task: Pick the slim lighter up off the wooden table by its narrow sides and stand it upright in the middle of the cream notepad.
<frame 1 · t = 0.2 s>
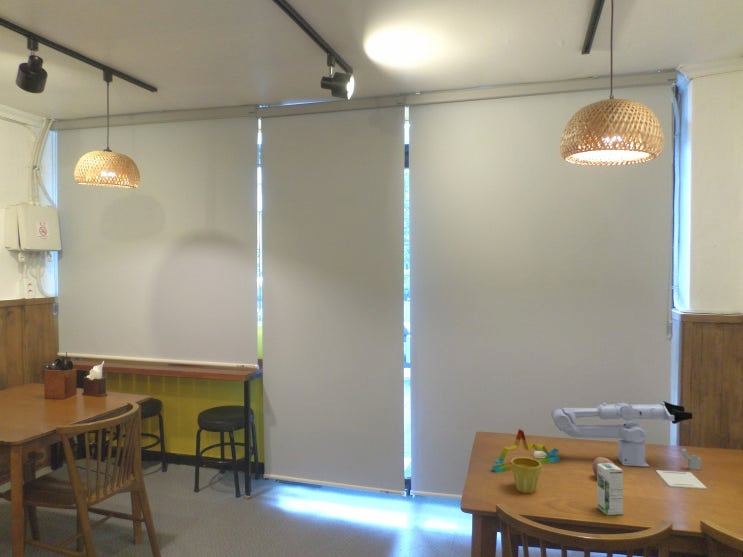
hand: (687, 412, 193), 21 cm above the table, tool horizontal, fingers open, 7 cm apart
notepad: (680, 480, 181), on the table
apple: (603, 479, 183), on the table
lighter: (690, 469, 191), on the table
plant pot: (526, 489, 176), on the table
syrup box: (610, 511, 158), on the table
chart: (526, 466, 198), on the table
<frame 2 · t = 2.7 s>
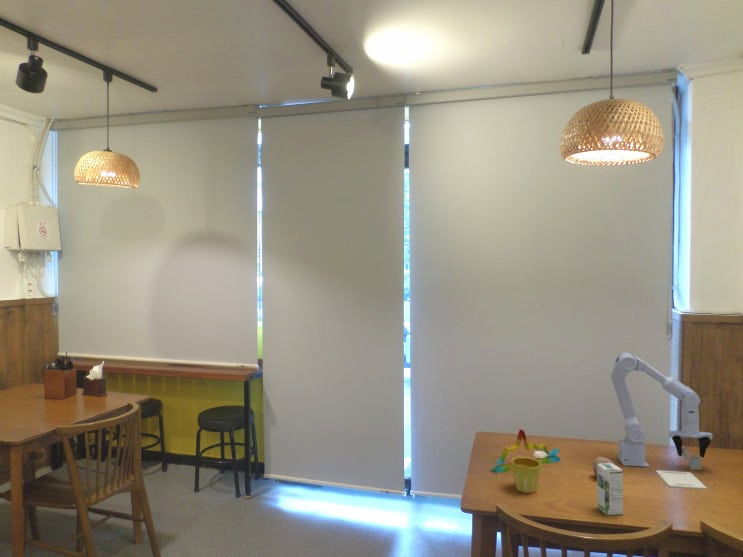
hand: (690, 456, 191), 5 cm above the table, tool pointing down, fingers open, 7 cm apart
lighter: (691, 469, 191), on the table, touching gripper
everything else where it was.
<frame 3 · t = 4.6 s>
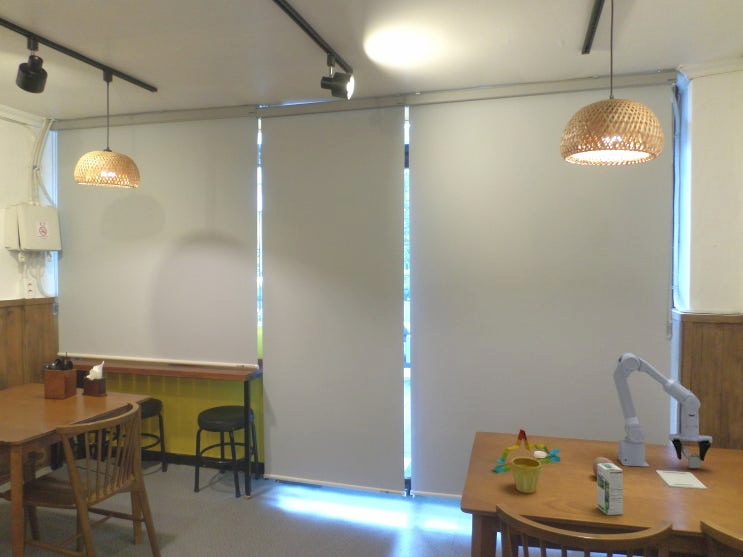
hand: (690, 459, 191), 4 cm above the table, tool pointing down, fingers closed on lighter, 7 cm apart
lighter: (690, 467, 191), on the table, touching gripper
everything else where it was.
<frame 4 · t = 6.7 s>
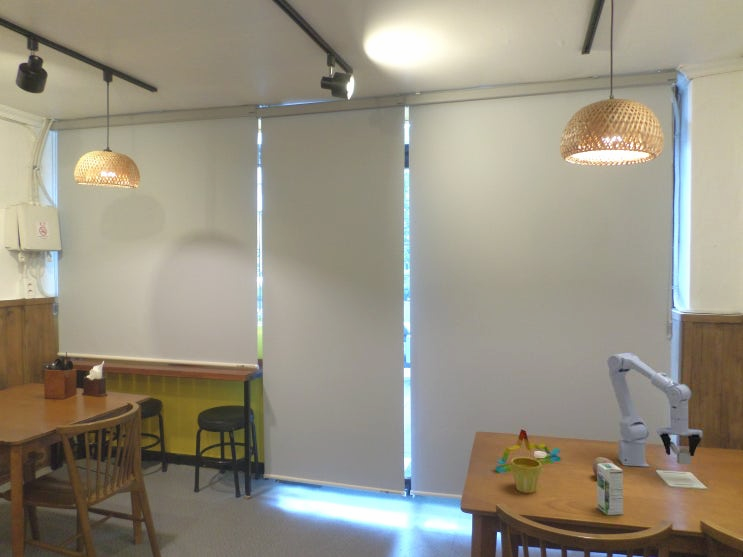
hand: (679, 454, 181), 9 cm above the table, tool pointing down, fingers closed on lighter, 7 cm apart
lighter: (679, 463, 181), point 6 cm above the table, touching gripper
everything else where it was.
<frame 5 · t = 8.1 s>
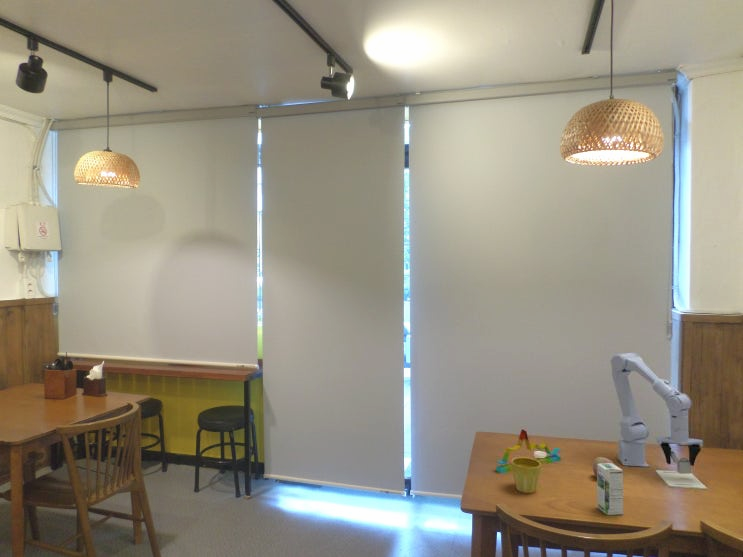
hand: (679, 464, 181), 6 cm above the table, tool pointing down, fingers closed on lighter, 7 cm apart
lighter: (680, 473, 181), point 2 cm above the table, touching gripper
everything else where it was.
when the fingers open (6 cm above the table, at t = 8.7 s): lighter drops 2 cm, resting on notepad.
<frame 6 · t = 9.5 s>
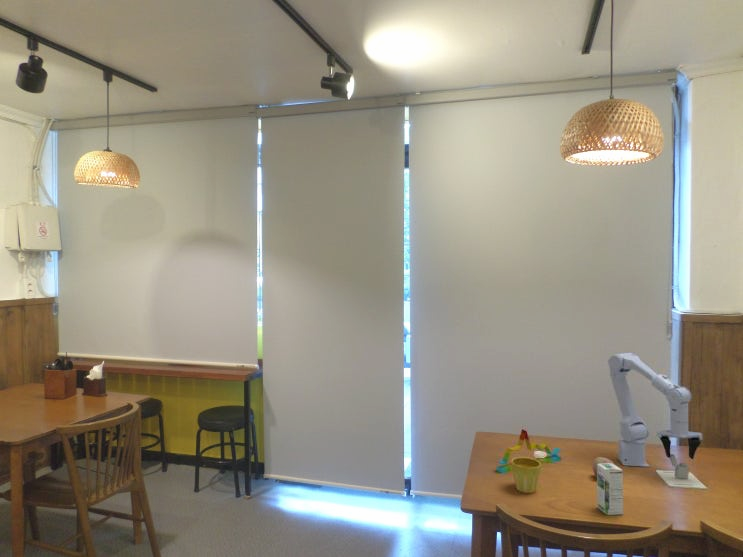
hand: (679, 457, 181), 8 cm above the table, tool pointing down, fingers open, 7 cm apart
lighter: (676, 477, 181), point 1 cm above the table, touching gripper, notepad
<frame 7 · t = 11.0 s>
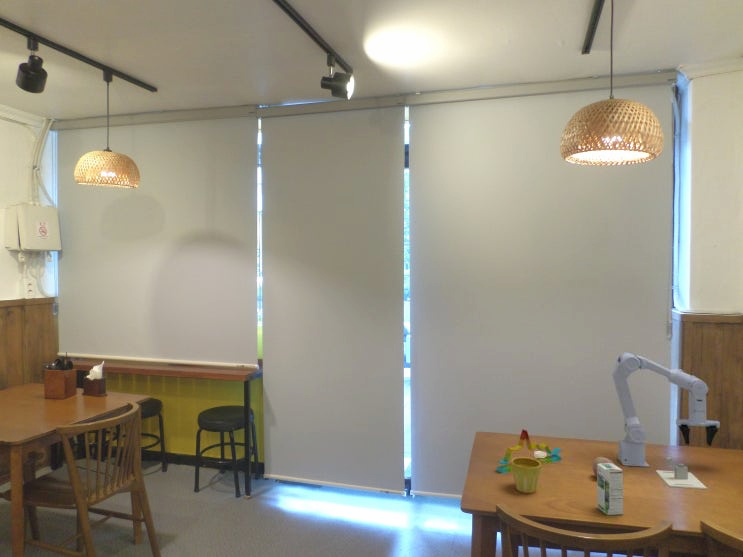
hand: (697, 444, 191), 9 cm above the table, tool pointing down, fingers open, 7 cm apart
lighter: (676, 478, 181), resting on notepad
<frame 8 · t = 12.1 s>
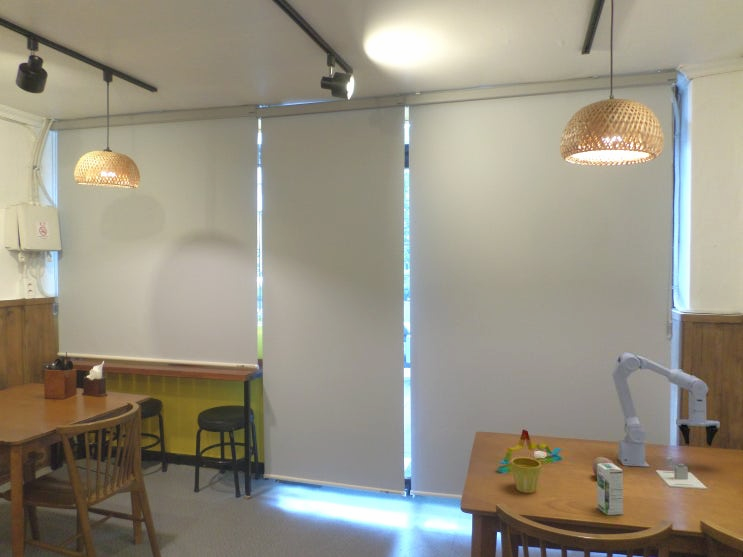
hand: (697, 444, 191), 9 cm above the table, tool pointing down, fingers open, 7 cm apart
at the end: lighter inside the target area on the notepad (1.0 cm from its centre), point 0.3 cm above the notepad's base; lighter tilted 0°; the gripper is holding nothing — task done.
